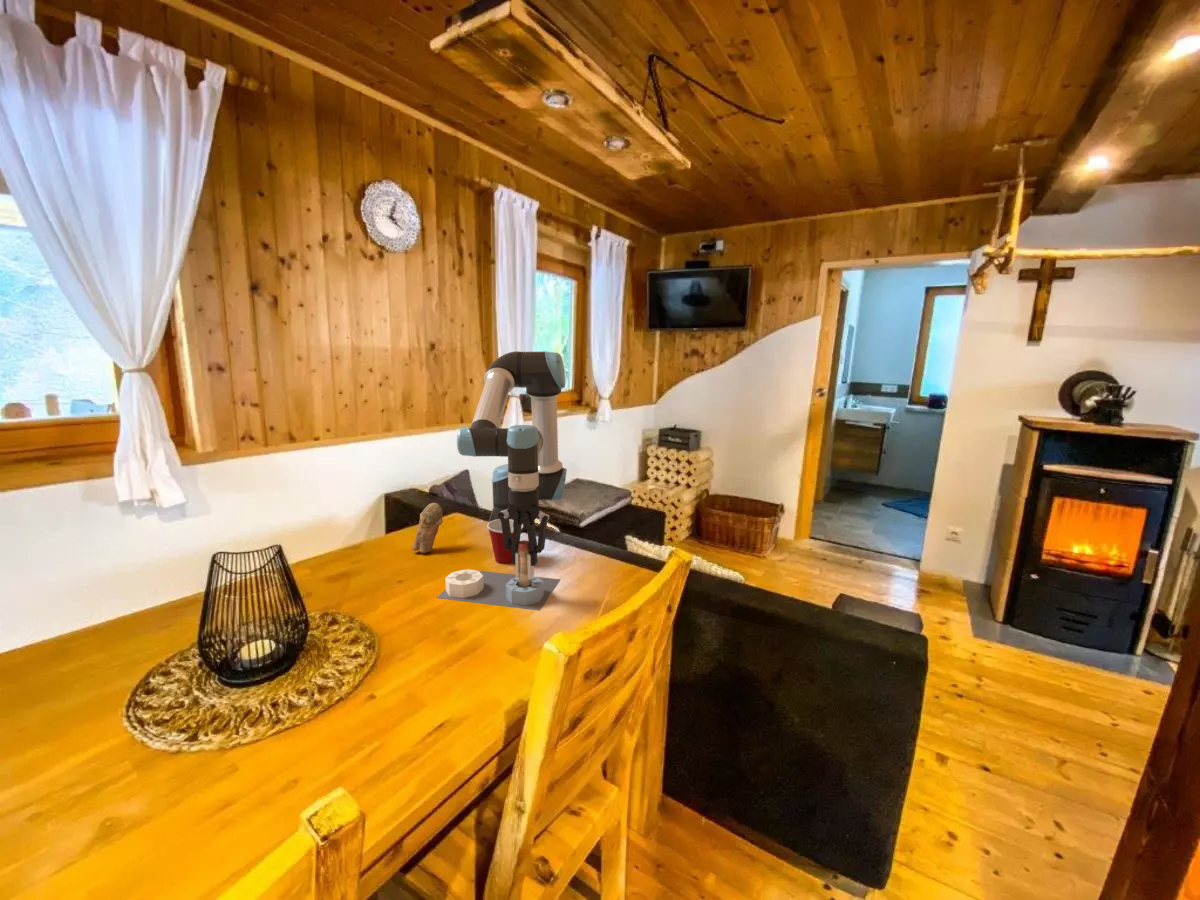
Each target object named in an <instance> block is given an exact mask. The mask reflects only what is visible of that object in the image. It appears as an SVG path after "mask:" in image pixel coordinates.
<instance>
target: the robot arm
mask: <svg viewBox="0 0 1200 900" xmlns="http://www.w3.org/2000/svg"><path fill="white" fill-rule="evenodd" d="M483 383H484V386H483V389H482V392H481V395H480V398H479V401H478V404H477V407H476V410H475V413H474V416H473V419H472V421H471V424H470V427H469V426H467V427H461V428H460V429H459V430H458V432H457V436H456V447H457V451H458V453H459V455H461V456H465V457H466V456H468V457H473V458H474V457H507V463H506V464H502V465H499V466H496V467H495V468H494V469H493V470H492V478H491V479H492V480H491V483H492V509H491V514H490V516H489V520H488V523H489V522H490V521H493V520H498V519H500V521H501V525H502V533H503V540H504V548H505V549H506V550H510V551H511V552H512V563H511V564H512V565H515V575H516V578H519V549H518V542H519V541H521V535H522V534H521V533H522V532H524V531H526V532H527V539H528V540H527V541H529V548H530V553H529V554H528V555H527V570H528V579H531V578H532V577H533V576H535V566H536V565H537V564H538V554H540V553H542V551H543V550H545V547H546V546H545V545H546V537H547V530H548V529H547V527H548V521H549V519H550V517H551V515H550V513H545V512H543V511H542V510H541V507H540V501H560V500H562V499H563V498H564V495H565V493H564V492H565V486H566V480H567V479H566V478H567V473H568V472H567V470H568V469H567V468H566V467H563V462H562V461H561V460H559V443H558V442H559V441H558V440H559V439H558V438H559V437H558V403H557V402H558V397H559V395H561V394H562V389H565V388H566V372H565V365H564V361H563V357H562V355H561V354H560V353H558V352H556V351H555V352H553V351H552V352H551V351H548V350H547V351H519V350H518V351H511V352H508V353H505V354H503V355H501V356H500V357H498V358H496V359H494V361H493V362H491V363H490V365H489V366H488V367H487V369H486V371H485V374H484V376H483ZM514 388H521V389H523V388H525V392H526V395H527V396H529V397H530V400H531V401H530V404H531V421H532V422H531V423H532V424H531V425H530V424H516V425H511V426H509V427H508V428H507V427H506V428H505V427H503V428H502V427H500V426H501V423H502V419H503V416H504V413H505V408H506V404H507V401H508V396H509V393H511V391H513V389H514ZM537 517H538V519H539V521H540V523H539V526H538V527H539V528H538V538H537V535H536V534H537V533H536V527H535V526H536V521H535V520H537ZM509 519H511V520H514V522H513V527H514V529H513V538H512V537H511V529H510V522H509ZM522 524H523V528H522V530H521V526H522Z"/></svg>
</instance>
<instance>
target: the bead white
mask: <svg viewBox="0 0 1200 900" xmlns="http://www.w3.org/2000/svg"><path fill="white" fill-rule="evenodd" d="M479 571H480V570H478V571H476V569H475V570H474V569H469V570H468V569H466V568H465V569H462V570H457V571H452V572H451V573H450V574H448V575H447V576H446V577H445V578H444V580H445V581H444V582H445V583H444V584H445V589H446V592H447V593H448V595H449V596H450V597H458V598H466V597H470V596H474V595H477V594H478V593H479V592H480V591H481V590H482V589H483V588H484V585H483V575H482V574H481V573H480V572H479Z"/></svg>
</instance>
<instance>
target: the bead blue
mask: <svg viewBox="0 0 1200 900" xmlns="http://www.w3.org/2000/svg"><path fill="white" fill-rule="evenodd" d="M538 577H539V576H534V577H532V578H531V587H527V588H521V587H519V578H513V579H511V580H510V581H509V582H508V583H507V584H506V598H507V599H508V600H509V601H510V602H511V604H516V605H525V606H526V605H530V604H534V603H537V602H540V600H541V599H542V597H543V596H544V582H543V581H542V580H541V579H539V578H538Z"/></svg>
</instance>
